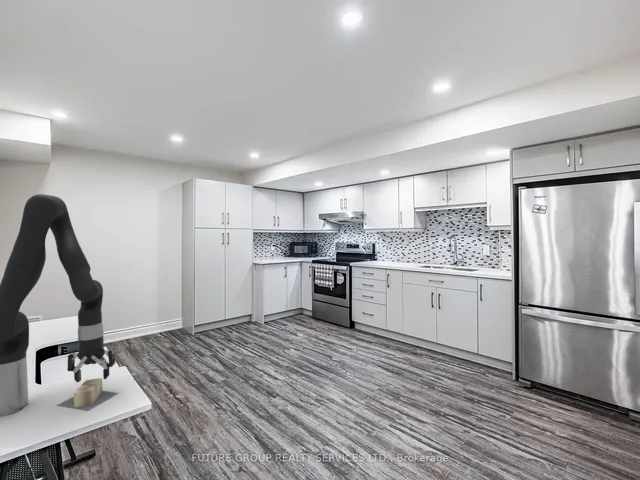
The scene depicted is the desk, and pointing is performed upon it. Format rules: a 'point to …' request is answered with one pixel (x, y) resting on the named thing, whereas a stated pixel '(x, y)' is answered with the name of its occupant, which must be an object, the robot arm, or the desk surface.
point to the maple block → (88, 392)
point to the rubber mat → (100, 399)
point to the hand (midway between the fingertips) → (92, 379)
